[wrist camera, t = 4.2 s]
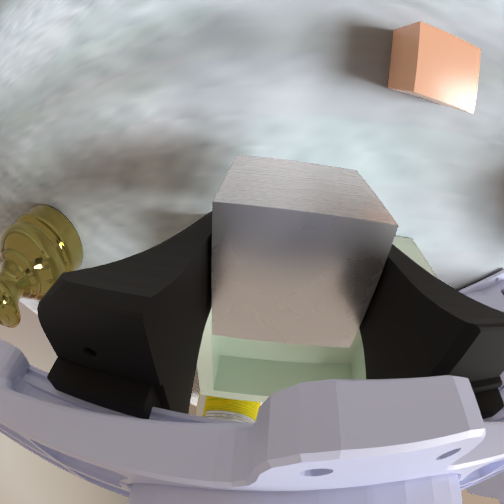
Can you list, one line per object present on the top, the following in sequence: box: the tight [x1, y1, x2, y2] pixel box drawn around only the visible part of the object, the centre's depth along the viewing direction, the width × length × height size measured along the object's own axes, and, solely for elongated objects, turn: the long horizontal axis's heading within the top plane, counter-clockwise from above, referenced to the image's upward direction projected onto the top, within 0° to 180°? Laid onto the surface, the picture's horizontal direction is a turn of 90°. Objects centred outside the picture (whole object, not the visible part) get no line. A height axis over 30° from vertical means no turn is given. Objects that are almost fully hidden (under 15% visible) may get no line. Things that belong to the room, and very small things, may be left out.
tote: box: [197, 236, 437, 402], centre depth 22 cm, size 15×15×5 cm
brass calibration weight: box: [0, 205, 83, 328], centre depth 18 cm, size 7×7×10 cm
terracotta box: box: [387, 22, 481, 114], centre depth 12 cm, size 4×4×4 cm
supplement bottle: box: [195, 393, 260, 423], centre depth 26 cm, size 7×7×13 cm
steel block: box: [212, 155, 398, 347], centre depth 11 cm, size 5×5×5 cm
